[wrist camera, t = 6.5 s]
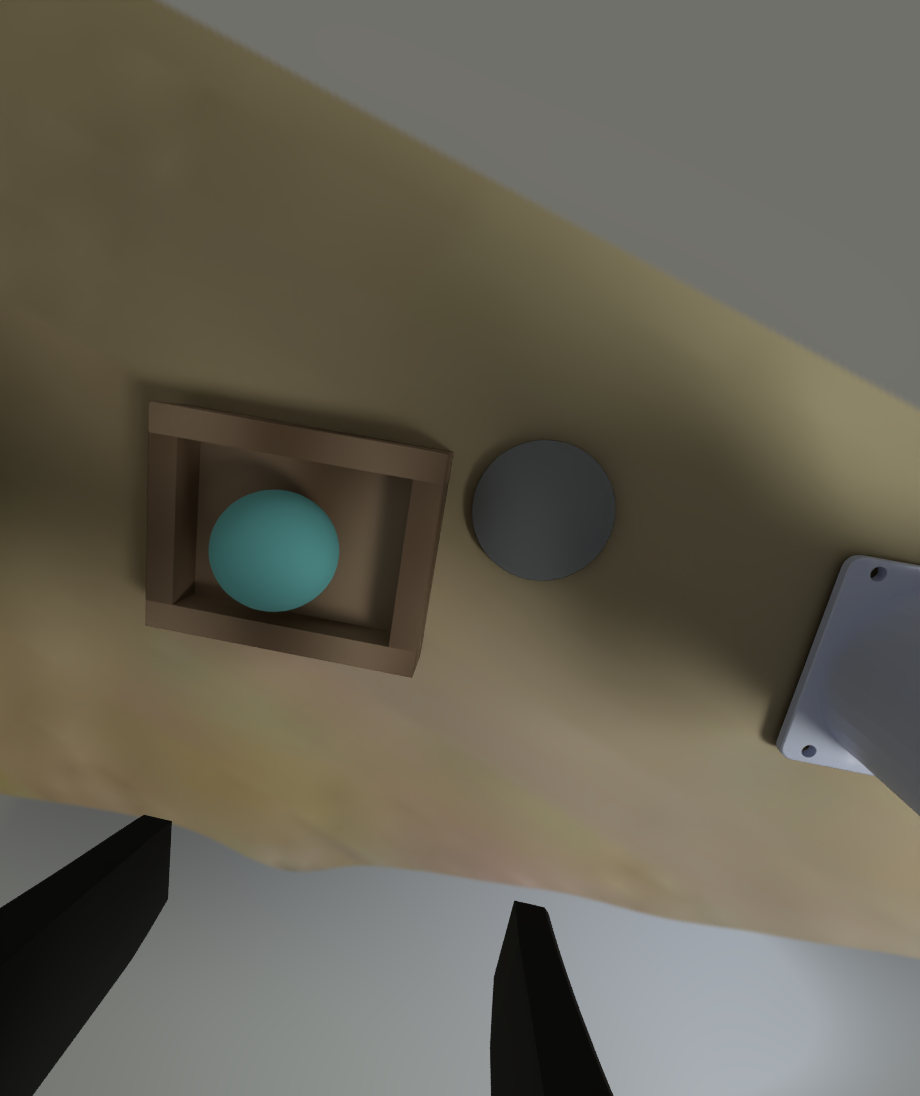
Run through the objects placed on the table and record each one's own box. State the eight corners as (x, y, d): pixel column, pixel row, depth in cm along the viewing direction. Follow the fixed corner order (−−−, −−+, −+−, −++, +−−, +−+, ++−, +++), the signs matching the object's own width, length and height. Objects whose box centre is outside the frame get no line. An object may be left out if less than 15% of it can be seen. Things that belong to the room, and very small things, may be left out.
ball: (363, 495, 17) (312, 512, 13) (350, 600, 18) (299, 644, 14) (258, 474, 18) (179, 484, 14) (251, 577, 19) (176, 615, 15)
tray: (453, 452, 17) (448, 453, 15) (420, 655, 19) (412, 677, 17) (183, 404, 18) (149, 400, 16) (177, 608, 19) (145, 625, 18)
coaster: (628, 453, 17) (631, 453, 16) (594, 588, 18) (596, 592, 17) (486, 428, 17) (485, 428, 17) (461, 564, 18) (461, 566, 18)
